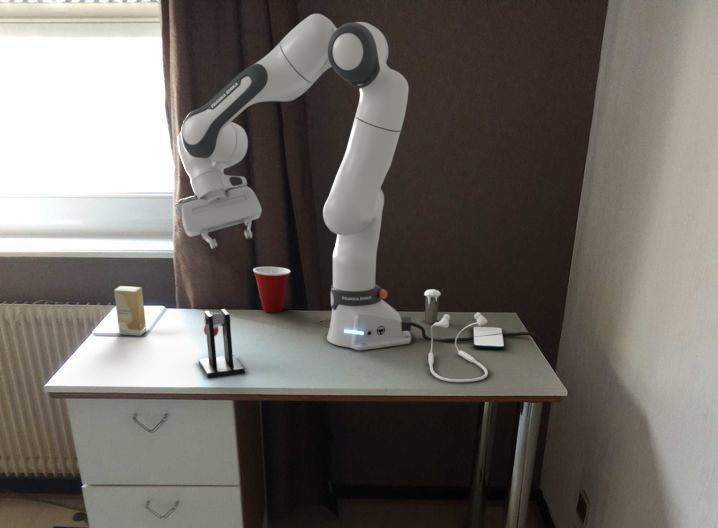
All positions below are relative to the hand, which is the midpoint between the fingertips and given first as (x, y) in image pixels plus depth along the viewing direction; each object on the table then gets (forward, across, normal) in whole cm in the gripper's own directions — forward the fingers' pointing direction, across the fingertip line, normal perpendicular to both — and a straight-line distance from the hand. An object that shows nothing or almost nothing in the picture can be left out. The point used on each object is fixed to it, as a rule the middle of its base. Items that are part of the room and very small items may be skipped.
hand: (232, 242), depth 191 cm
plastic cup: (+11, +12, +31) cm, 36 cm away
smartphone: (+45, +55, -4) cm, 71 cm away
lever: (+22, -14, -5) cm, 26 cm away
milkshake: (+33, +49, +11) cm, 60 cm away
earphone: (+51, +36, -17) cm, 65 cm away
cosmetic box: (+8, -29, +24) cm, 38 cm away
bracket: (+30, -15, -4) cm, 34 cm away
